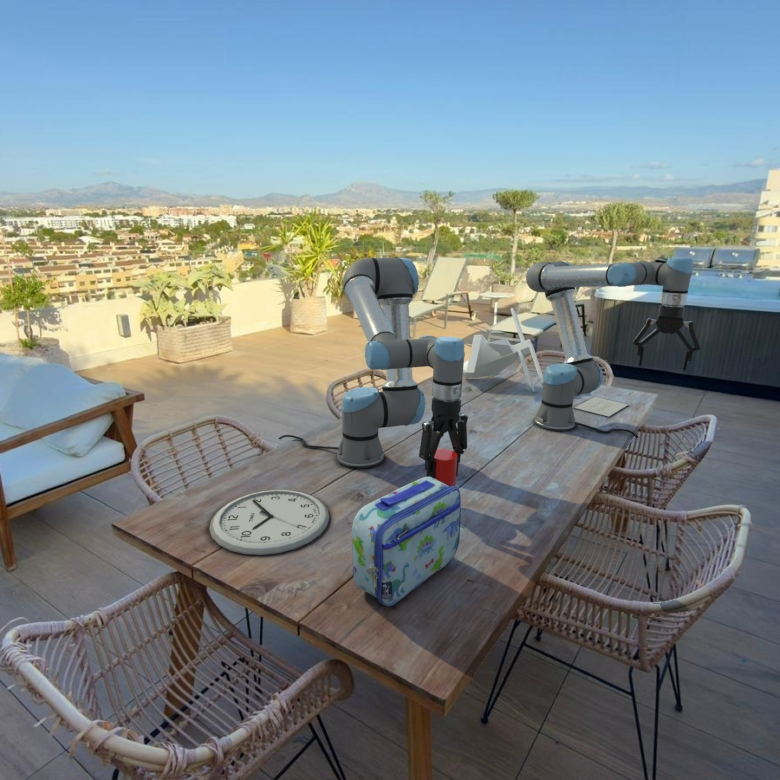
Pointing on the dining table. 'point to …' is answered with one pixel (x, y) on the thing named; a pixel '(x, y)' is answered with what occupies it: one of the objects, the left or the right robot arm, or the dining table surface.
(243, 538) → the wall clock
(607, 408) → the invitation card
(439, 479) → the tin
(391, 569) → the lunch box
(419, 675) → the dining table surface
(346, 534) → the dining table surface
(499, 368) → the white plastic object
